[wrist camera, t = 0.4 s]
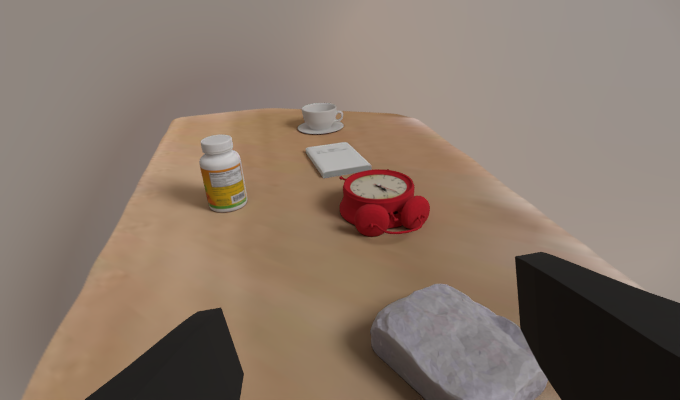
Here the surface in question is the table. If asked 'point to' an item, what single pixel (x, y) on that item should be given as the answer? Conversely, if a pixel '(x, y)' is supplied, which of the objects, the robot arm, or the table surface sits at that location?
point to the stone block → (455, 348)
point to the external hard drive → (337, 159)
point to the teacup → (320, 119)
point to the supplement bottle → (222, 174)
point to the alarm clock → (382, 202)
